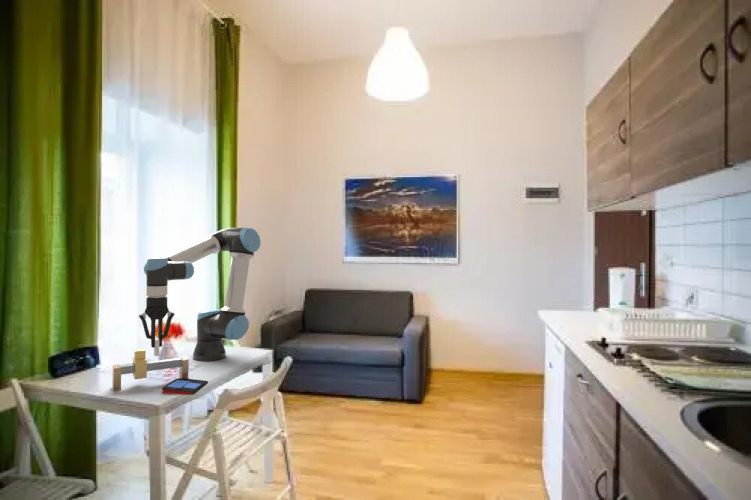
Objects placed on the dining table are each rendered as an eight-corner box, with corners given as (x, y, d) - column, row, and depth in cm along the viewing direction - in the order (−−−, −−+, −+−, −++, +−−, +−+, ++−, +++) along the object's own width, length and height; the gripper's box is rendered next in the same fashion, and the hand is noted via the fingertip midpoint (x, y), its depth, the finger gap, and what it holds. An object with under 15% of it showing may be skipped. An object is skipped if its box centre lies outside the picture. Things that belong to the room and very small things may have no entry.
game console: (193, 395, 163) (193, 389, 163) (159, 394, 163) (159, 388, 163) (208, 383, 177) (208, 377, 177) (177, 382, 178) (177, 377, 178)
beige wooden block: (143, 373, 176) (144, 347, 176) (146, 377, 170) (147, 351, 170) (132, 374, 173) (133, 349, 173) (134, 379, 168) (135, 352, 168)
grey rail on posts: (185, 376, 184) (185, 356, 184) (188, 379, 180) (188, 358, 180) (112, 387, 169) (112, 364, 169) (113, 391, 165) (113, 367, 164)
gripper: (172, 294, 182) (172, 351, 182) (137, 296, 174) (137, 355, 175) (176, 296, 175) (176, 355, 176) (139, 298, 168) (139, 359, 168)
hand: (156, 355), depth 175 cm, fingers closed
